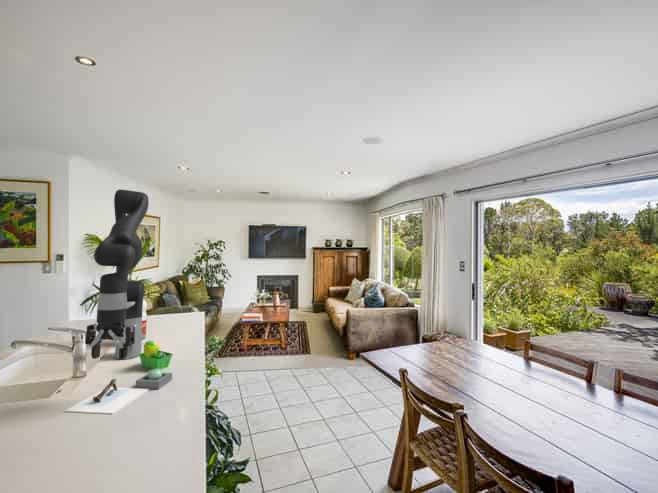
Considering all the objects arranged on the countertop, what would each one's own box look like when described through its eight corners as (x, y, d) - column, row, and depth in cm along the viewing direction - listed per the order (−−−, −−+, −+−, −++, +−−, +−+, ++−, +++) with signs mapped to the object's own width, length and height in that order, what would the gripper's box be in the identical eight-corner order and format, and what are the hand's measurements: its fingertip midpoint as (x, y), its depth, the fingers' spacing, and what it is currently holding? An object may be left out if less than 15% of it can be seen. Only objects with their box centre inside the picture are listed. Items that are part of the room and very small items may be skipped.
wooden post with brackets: (121, 387, 98) (117, 376, 96) (102, 408, 90) (98, 397, 89) (116, 387, 98) (112, 376, 96) (96, 408, 90) (92, 397, 89)
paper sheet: (108, 387, 100) (108, 386, 100) (148, 389, 100) (149, 388, 100) (64, 411, 84) (64, 410, 84) (112, 414, 84) (112, 412, 84)
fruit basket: (173, 366, 122) (174, 338, 122) (152, 373, 114) (154, 343, 114) (155, 361, 126) (156, 334, 127) (133, 368, 118) (135, 339, 119)
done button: (152, 376, 106) (152, 368, 107) (164, 377, 106) (164, 368, 106) (144, 381, 102) (144, 373, 102) (156, 382, 102) (157, 373, 102)
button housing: (150, 378, 108) (150, 372, 108) (171, 379, 108) (172, 372, 108) (135, 388, 100) (135, 380, 100) (158, 389, 100) (159, 381, 100)
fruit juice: (121, 343, 150) (125, 288, 152) (142, 340, 157) (146, 287, 158) (125, 347, 144) (128, 289, 145) (147, 344, 150) (150, 288, 151)
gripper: (142, 306, 98) (139, 355, 97) (100, 304, 98) (96, 353, 98) (125, 310, 90) (122, 364, 90) (80, 308, 91) (76, 361, 90)
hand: (109, 358), depth 94 cm, fingers open, 8 cm apart
